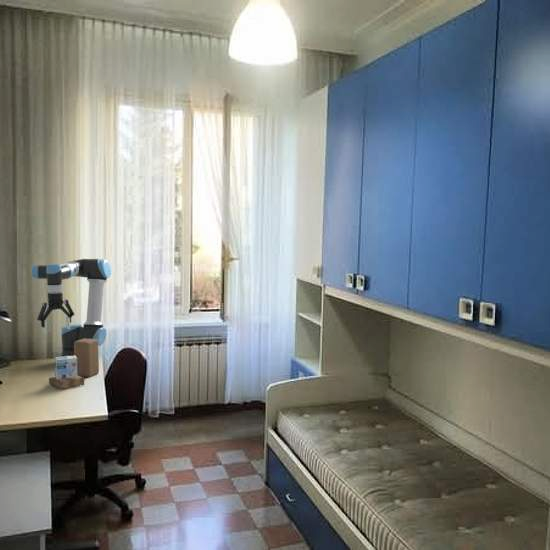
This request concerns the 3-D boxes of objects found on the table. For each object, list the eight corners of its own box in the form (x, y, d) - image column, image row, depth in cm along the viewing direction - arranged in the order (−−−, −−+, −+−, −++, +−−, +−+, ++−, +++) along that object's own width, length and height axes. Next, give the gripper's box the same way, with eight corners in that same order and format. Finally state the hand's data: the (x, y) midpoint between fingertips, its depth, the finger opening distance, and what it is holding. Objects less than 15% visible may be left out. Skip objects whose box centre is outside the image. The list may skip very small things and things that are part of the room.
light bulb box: (56, 380, 296) (56, 359, 295) (55, 377, 302) (54, 357, 301) (78, 377, 301) (77, 357, 300) (76, 374, 306) (75, 355, 306)
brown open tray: (72, 380, 311) (72, 372, 310) (84, 384, 302) (84, 377, 301) (49, 385, 301) (49, 377, 301) (61, 390, 292) (60, 382, 292)
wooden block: (73, 376, 319) (72, 341, 317) (84, 371, 329) (83, 337, 327) (89, 377, 316) (88, 342, 314) (99, 373, 326) (98, 339, 324)
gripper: (72, 289, 318) (74, 326, 321) (29, 294, 299) (31, 333, 302) (79, 290, 313) (81, 328, 316) (36, 295, 294) (38, 335, 297)
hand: (56, 330), depth 309 cm, fingers open, 13 cm apart
